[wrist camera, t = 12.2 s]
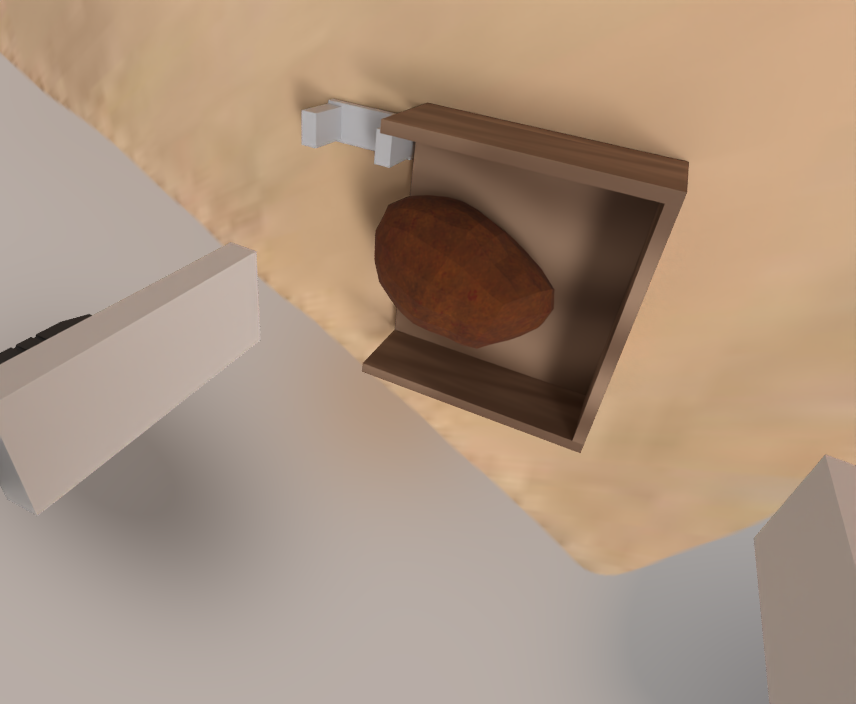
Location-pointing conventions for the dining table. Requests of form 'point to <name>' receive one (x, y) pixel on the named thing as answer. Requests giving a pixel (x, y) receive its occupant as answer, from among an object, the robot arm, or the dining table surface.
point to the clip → (354, 130)
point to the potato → (459, 272)
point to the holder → (554, 253)
